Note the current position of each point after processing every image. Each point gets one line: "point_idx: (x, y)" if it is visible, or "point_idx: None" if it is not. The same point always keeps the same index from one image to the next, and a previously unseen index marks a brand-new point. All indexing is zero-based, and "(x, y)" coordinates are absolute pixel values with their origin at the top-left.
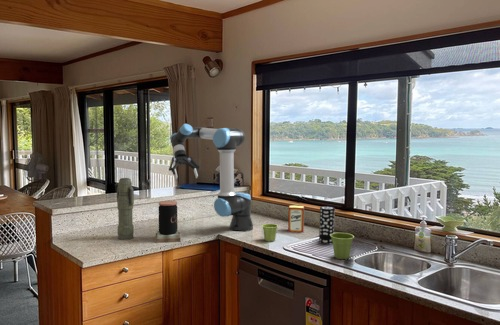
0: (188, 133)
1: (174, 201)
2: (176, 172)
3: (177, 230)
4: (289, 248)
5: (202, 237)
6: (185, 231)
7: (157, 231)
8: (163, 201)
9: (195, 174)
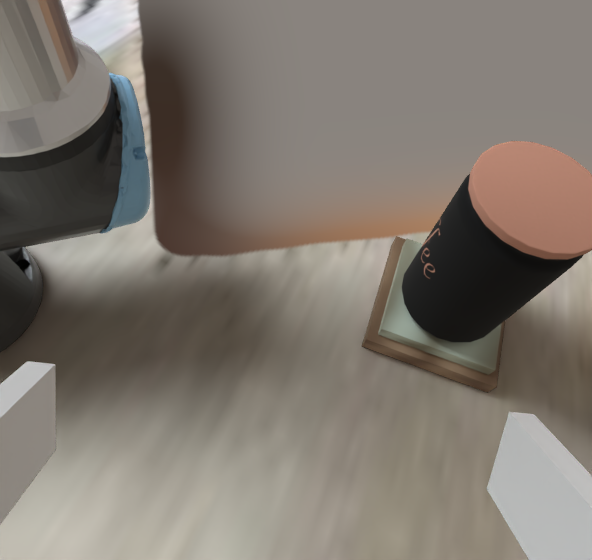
0: None
1: (488, 198)
2: (586, 496)
3: (386, 321)
4: (71, 3)
5: (270, 253)
6: (300, 410)
7: (496, 356)
8: (573, 237)
9: (3, 483)
